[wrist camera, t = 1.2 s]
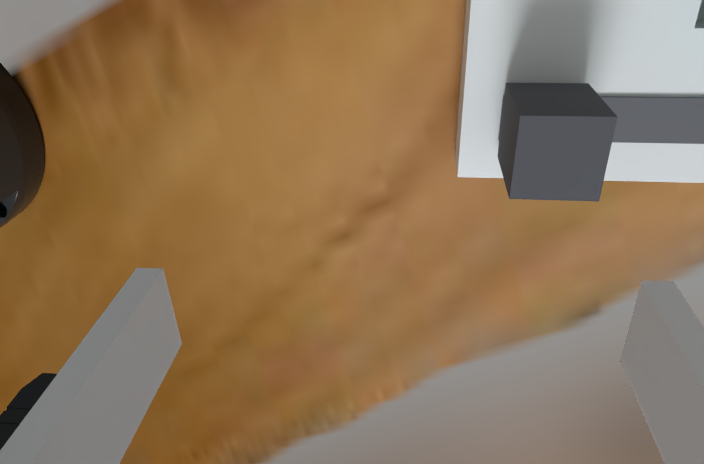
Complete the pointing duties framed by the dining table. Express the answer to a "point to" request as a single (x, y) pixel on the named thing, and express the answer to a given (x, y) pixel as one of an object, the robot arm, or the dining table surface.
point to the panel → (591, 78)
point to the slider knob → (554, 141)
